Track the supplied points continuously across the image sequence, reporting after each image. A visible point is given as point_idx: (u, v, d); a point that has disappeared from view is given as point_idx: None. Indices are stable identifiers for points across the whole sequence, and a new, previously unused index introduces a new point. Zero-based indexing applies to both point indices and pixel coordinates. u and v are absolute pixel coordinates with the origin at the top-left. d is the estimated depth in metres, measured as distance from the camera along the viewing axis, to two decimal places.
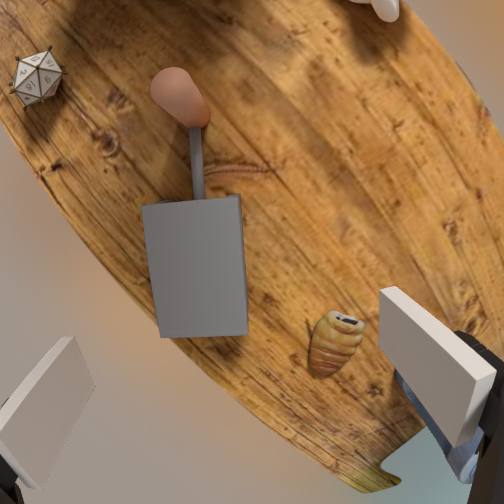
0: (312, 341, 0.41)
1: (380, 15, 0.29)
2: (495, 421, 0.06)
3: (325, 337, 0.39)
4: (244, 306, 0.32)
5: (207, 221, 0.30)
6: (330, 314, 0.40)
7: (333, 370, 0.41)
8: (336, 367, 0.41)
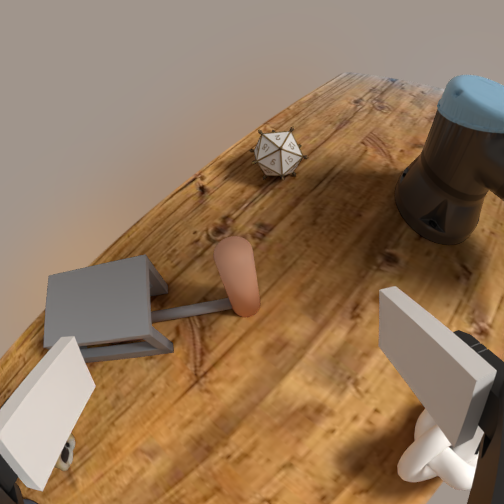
0: None
1: (399, 461, 0.26)
2: (495, 421, 0.06)
3: None
4: None
5: (130, 310, 0.32)
6: (70, 436, 0.31)
7: None
8: None
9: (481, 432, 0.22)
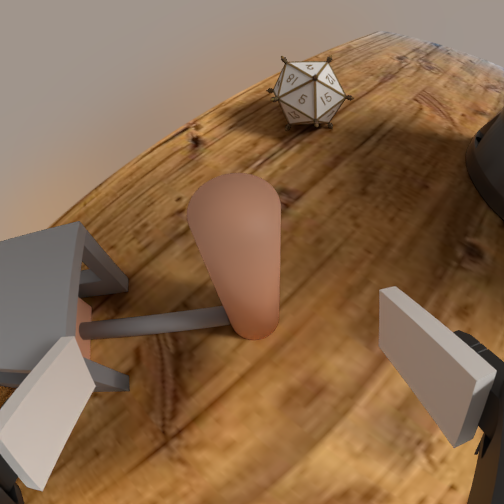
0: None
1: None
2: (495, 421, 0.06)
3: None
4: None
5: (40, 319, 0.15)
6: None
7: None
8: None
9: None
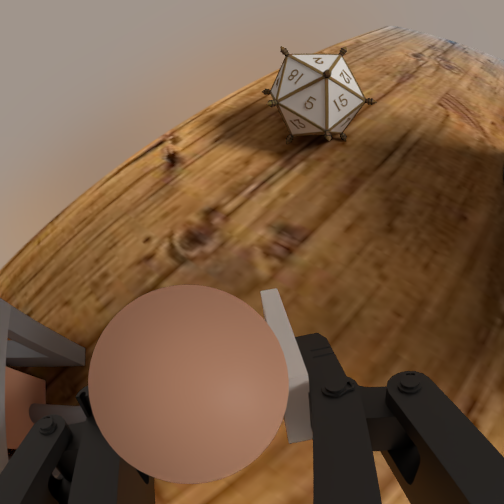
0: None
1: None
2: None
3: None
4: None
5: None
6: None
7: None
8: None
9: None
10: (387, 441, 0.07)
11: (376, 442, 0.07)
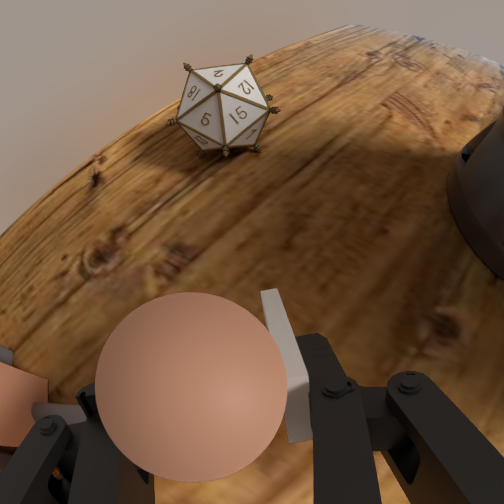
0: None
1: None
2: None
3: None
4: None
5: None
6: None
7: None
8: None
9: None
10: (387, 441, 0.07)
11: (376, 442, 0.07)
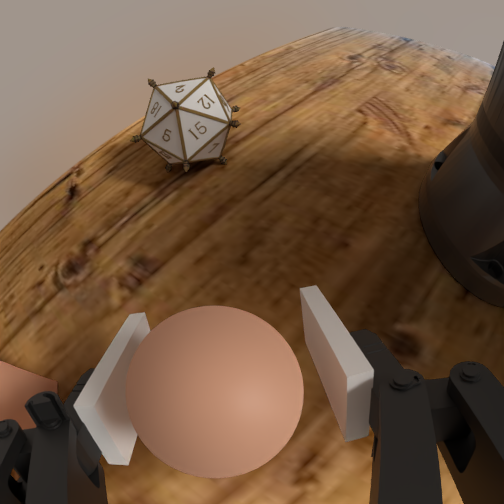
0: None
1: None
2: None
3: None
4: None
5: None
6: None
7: None
8: None
9: None
10: (448, 431, 0.06)
11: (437, 433, 0.06)
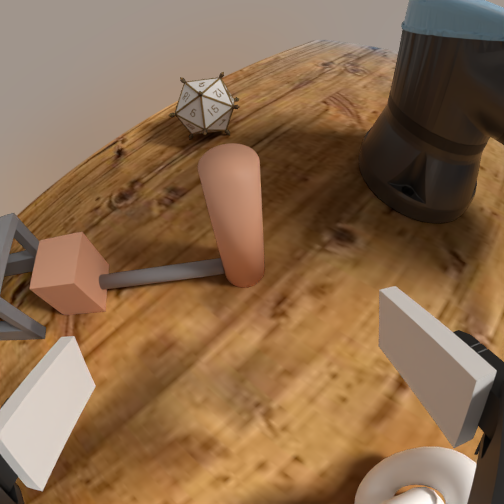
0: None
1: None
2: (495, 421, 0.06)
3: None
4: None
5: None
6: None
7: None
8: None
9: None
10: None
11: None
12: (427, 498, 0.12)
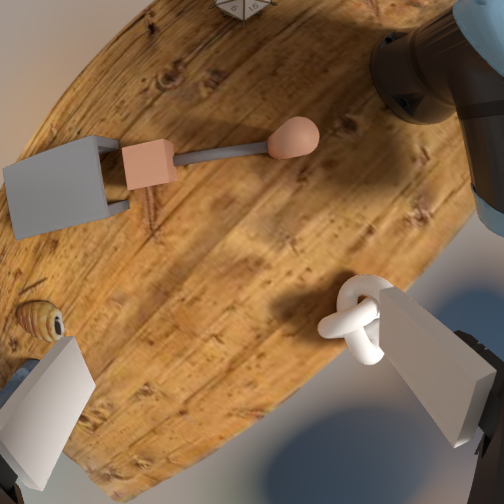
0: (34, 303, 0.42)
1: (319, 322, 0.42)
2: (495, 421, 0.06)
3: (39, 312, 0.41)
4: (33, 234, 0.32)
5: (85, 195, 0.32)
6: (56, 311, 0.42)
7: (22, 326, 0.42)
8: (25, 328, 0.42)
9: None
10: None
11: None
12: (374, 308, 0.39)
